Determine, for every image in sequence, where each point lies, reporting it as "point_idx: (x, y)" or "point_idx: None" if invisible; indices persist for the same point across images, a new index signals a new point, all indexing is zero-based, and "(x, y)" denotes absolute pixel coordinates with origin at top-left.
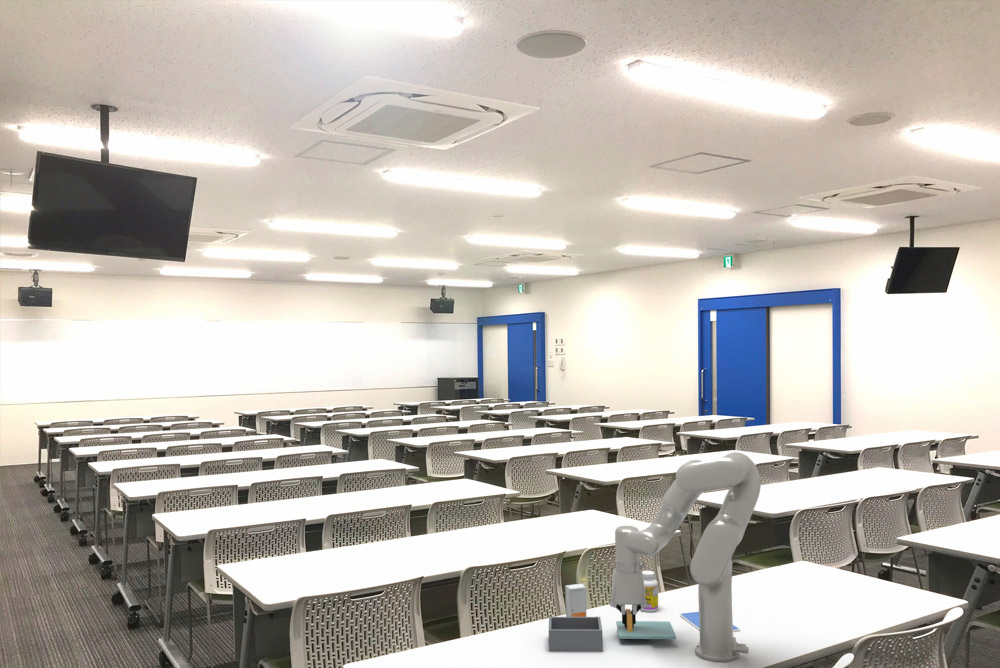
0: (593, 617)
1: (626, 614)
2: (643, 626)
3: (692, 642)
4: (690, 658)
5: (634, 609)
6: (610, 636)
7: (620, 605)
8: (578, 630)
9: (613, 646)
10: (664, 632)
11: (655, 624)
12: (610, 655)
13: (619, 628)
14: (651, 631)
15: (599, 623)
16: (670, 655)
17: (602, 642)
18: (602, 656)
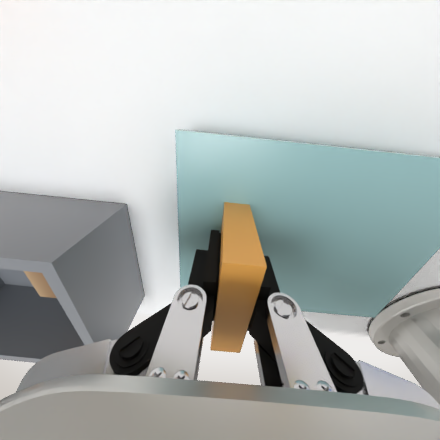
0: (15, 268)
1: (214, 314)
2: (307, 227)
3: (433, 257)
4: (343, 329)
5: (271, 372)
6: (162, 177)
7: (157, 352)
8: (23, 360)
9: (171, 259)
10: (359, 289)
11: (387, 206)
12: (163, 301)
13: (186, 243)
14: (314, 278)
15: (79, 330)
16: (307, 315)
17: (129, 326)
18: (144, 303)
